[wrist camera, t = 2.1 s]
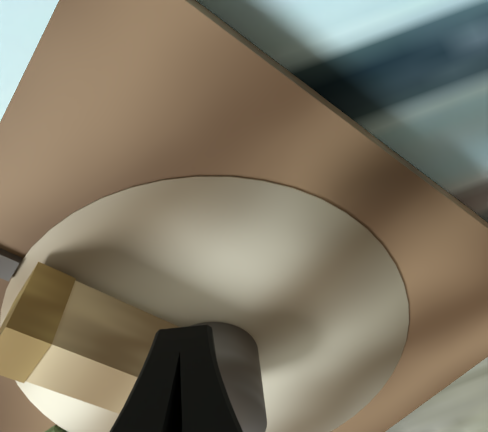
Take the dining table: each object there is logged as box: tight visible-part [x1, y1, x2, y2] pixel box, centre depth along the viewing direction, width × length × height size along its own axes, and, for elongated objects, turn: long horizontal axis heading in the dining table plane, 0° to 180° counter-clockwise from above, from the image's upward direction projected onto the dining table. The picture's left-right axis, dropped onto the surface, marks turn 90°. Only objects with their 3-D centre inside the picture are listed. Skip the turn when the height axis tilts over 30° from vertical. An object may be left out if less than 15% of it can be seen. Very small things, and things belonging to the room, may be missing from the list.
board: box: [0, 0, 488, 432], centre depth 20 cm, size 22×22×2 cm
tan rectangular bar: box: [0, 262, 267, 432], centre depth 17 cm, size 10×4×3 cm, turn 54°
